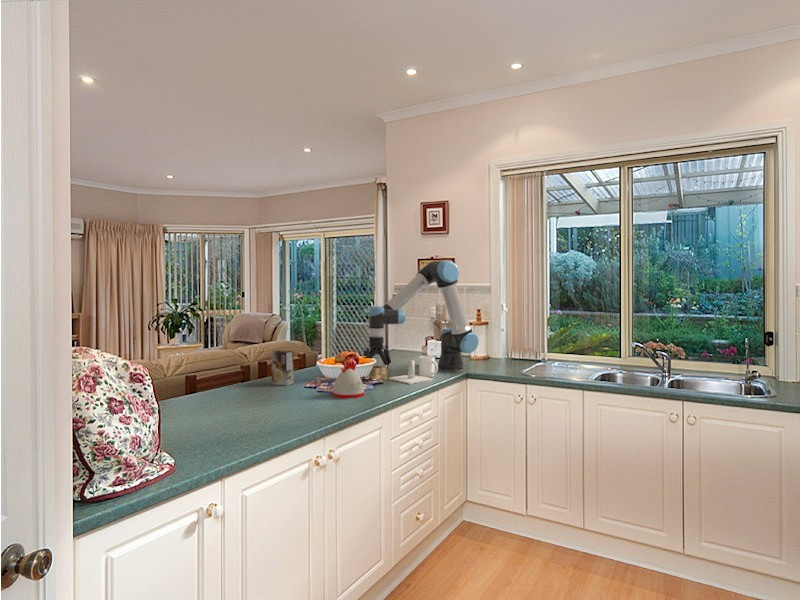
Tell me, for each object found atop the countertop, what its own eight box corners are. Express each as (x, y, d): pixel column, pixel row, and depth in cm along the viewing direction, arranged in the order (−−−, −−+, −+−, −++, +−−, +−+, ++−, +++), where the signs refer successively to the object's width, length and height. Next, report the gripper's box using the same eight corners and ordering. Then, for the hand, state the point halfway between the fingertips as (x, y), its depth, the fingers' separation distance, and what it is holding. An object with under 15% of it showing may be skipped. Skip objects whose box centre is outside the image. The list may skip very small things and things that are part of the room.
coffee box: (294, 383, 255) (294, 351, 254) (286, 386, 249) (286, 352, 248) (278, 381, 259) (278, 349, 258) (270, 384, 253) (270, 351, 252)
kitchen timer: (370, 395, 233) (370, 361, 232) (347, 400, 222) (347, 365, 222) (349, 390, 242) (349, 358, 241) (326, 395, 232) (326, 361, 231)
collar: (376, 376, 275) (377, 365, 275) (386, 379, 270) (386, 367, 269) (365, 378, 270) (365, 367, 270) (374, 380, 264) (374, 369, 264)
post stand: (411, 375, 279) (412, 357, 278) (433, 380, 267) (433, 361, 266) (389, 379, 268) (389, 360, 268) (410, 384, 256) (410, 364, 256)
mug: (442, 377, 276) (443, 358, 275) (431, 379, 270) (431, 359, 270) (426, 374, 285) (427, 355, 284) (415, 375, 279) (416, 356, 279)
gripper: (389, 334, 280) (388, 374, 281) (353, 337, 264) (353, 379, 265) (398, 335, 274) (397, 376, 275) (362, 338, 258) (362, 382, 259)
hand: (375, 378), depth 270 cm, fingers open, 11 cm apart
